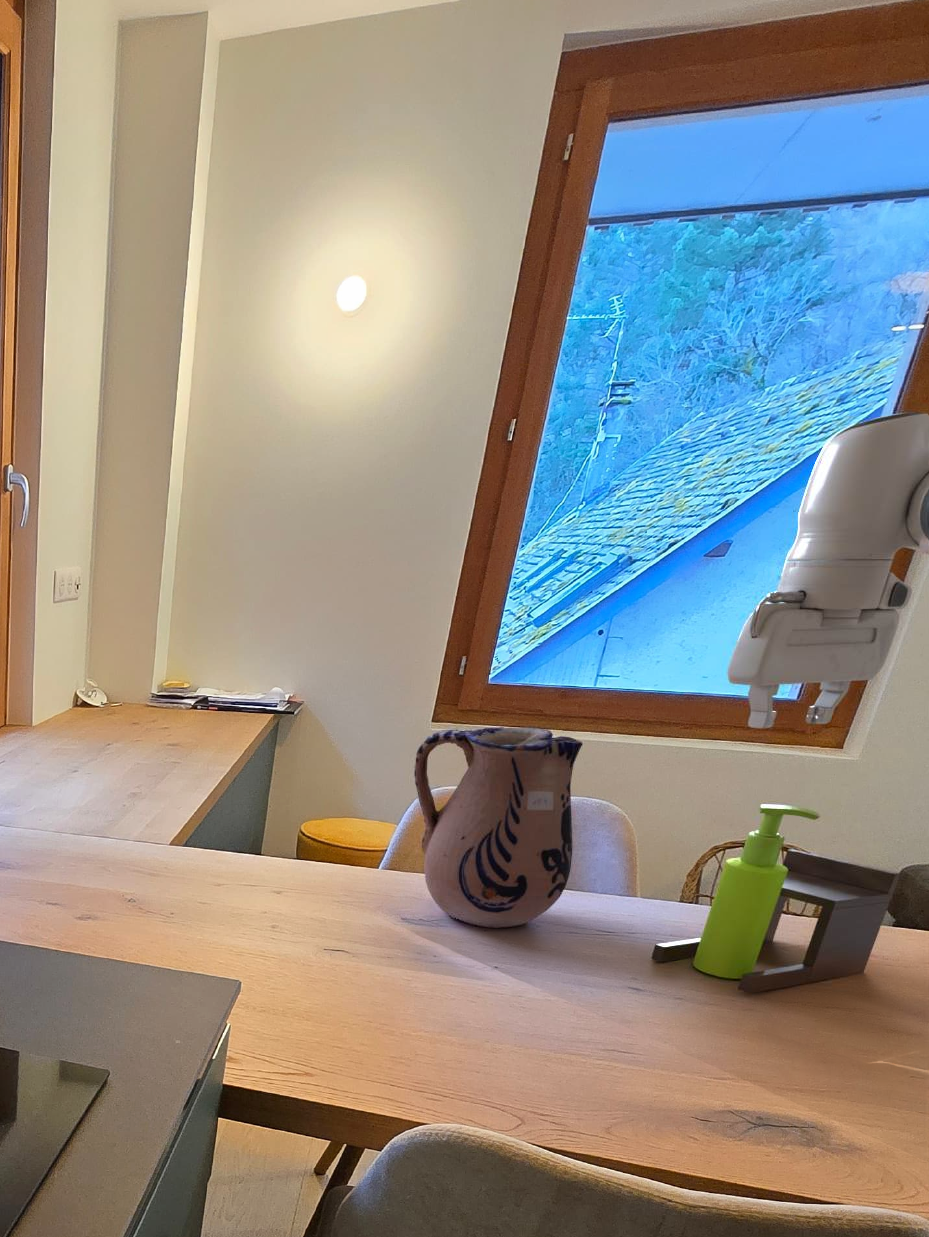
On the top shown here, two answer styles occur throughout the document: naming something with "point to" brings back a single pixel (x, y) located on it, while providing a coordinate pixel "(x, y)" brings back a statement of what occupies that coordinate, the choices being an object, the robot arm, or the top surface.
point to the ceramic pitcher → (500, 825)
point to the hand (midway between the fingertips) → (788, 725)
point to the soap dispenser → (746, 899)
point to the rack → (841, 928)
